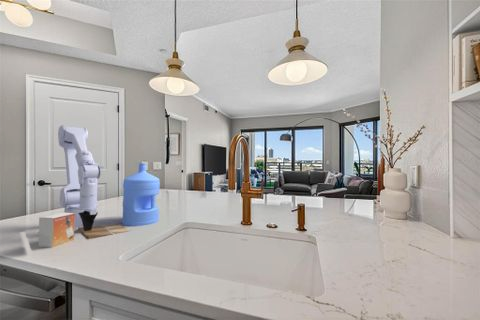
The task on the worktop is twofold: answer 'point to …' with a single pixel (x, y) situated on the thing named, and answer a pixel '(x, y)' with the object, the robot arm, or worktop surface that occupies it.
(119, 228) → the oak floor strip
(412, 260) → the worktop surface
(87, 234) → the walnut plank
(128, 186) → the water jug
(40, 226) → the small box
